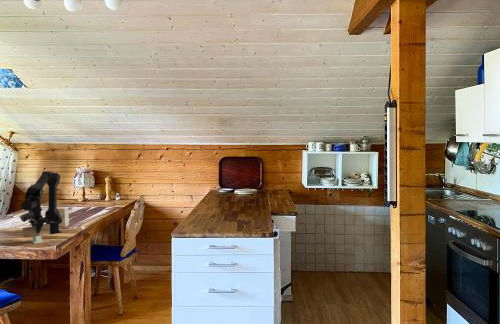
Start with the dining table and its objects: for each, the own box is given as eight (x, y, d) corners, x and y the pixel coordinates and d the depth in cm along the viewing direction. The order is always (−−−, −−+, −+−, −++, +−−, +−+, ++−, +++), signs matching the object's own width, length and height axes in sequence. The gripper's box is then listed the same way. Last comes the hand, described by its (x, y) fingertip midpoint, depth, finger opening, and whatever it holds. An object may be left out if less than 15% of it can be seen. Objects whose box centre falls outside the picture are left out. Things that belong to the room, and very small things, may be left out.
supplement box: (54, 226, 286) (53, 208, 285) (58, 225, 291) (58, 207, 290) (65, 227, 285) (64, 208, 284) (69, 225, 290) (68, 207, 289)
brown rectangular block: (23, 236, 242) (22, 227, 241) (48, 232, 251) (48, 224, 251) (24, 237, 239) (24, 228, 239) (50, 233, 248) (49, 225, 248)
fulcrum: (31, 242, 245) (30, 235, 245) (39, 240, 249) (39, 234, 249) (34, 243, 242) (34, 236, 241) (43, 241, 245) (42, 235, 245)
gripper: (15, 207, 244) (16, 233, 245) (27, 211, 232) (28, 238, 233) (34, 205, 252) (35, 229, 253) (47, 208, 240) (48, 234, 241)
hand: (36, 233), depth 245 cm, fingers closed on brown rectangular block, 4 cm apart
